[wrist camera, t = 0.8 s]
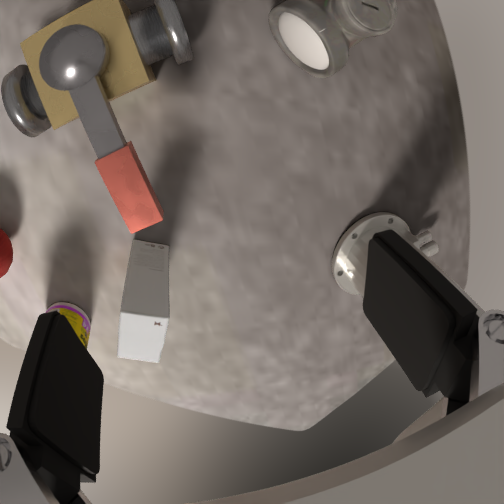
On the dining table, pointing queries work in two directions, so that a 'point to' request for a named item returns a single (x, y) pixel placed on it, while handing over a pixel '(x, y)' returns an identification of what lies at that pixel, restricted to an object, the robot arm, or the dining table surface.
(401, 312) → the robot arm
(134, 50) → the valve
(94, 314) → the dining table surface
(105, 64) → the lever
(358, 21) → the pipe fitting
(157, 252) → the skincare box
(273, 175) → the dining table surface
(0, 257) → the onion
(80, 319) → the supplement bottle
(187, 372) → the dining table surface
